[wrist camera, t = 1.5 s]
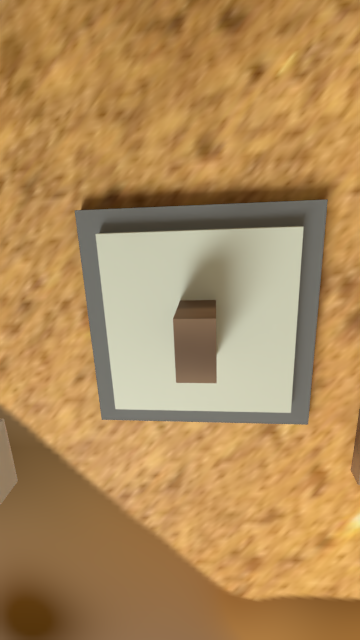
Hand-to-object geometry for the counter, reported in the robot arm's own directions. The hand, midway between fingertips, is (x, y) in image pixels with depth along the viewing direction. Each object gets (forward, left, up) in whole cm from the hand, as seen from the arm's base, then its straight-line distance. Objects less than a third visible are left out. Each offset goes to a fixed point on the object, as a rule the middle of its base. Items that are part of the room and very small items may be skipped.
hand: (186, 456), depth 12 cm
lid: (0, 0, -13) cm, 13 cm away
